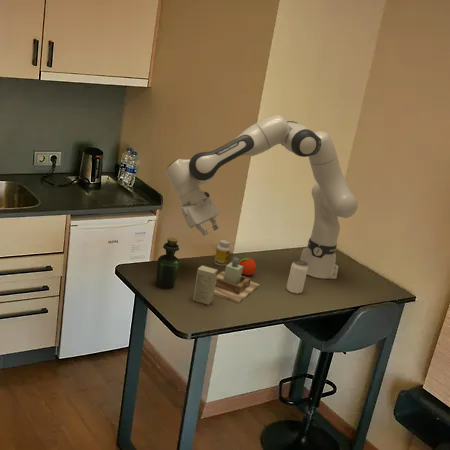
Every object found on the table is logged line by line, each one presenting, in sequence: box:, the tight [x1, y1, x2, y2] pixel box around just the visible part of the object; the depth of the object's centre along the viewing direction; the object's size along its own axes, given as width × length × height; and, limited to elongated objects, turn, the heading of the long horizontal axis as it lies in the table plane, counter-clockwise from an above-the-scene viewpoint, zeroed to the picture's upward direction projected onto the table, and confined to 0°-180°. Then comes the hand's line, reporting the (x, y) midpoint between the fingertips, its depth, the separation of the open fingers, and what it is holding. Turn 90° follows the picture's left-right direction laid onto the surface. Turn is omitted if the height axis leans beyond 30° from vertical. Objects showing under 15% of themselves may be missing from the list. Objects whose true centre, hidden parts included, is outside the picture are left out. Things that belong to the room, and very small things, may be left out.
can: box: [285, 259, 308, 295], centre depth 238 cm, size 6×6×12 cm
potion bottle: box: [155, 236, 181, 290], centre depth 220 cm, size 8×8×18 cm
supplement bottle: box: [213, 239, 231, 267], centre depth 251 cm, size 5×5×10 cm
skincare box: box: [192, 265, 218, 306], centre depth 214 cm, size 6×4×12 cm
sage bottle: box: [223, 257, 243, 285], centre depth 229 cm, size 5×5×11 cm
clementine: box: [238, 257, 257, 276], centre depth 245 cm, size 8×7×7 cm
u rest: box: [213, 271, 260, 304], centre depth 230 cm, size 20×16×4 cm
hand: (211, 232), depth 229 cm, fingers open, 8 cm apart
